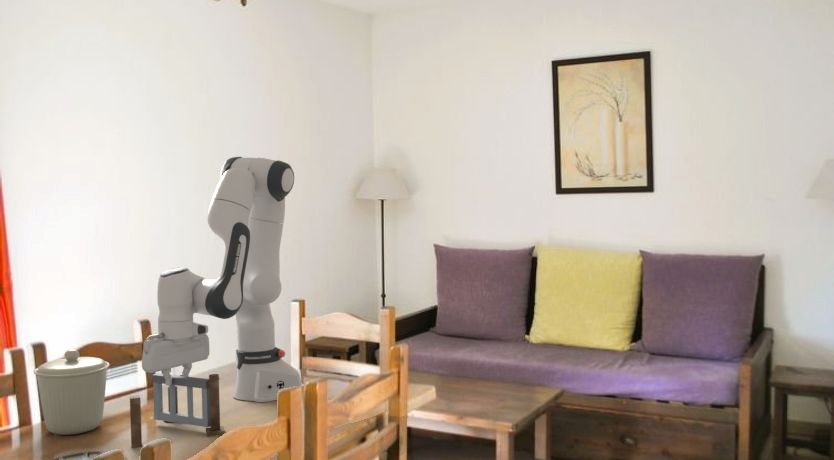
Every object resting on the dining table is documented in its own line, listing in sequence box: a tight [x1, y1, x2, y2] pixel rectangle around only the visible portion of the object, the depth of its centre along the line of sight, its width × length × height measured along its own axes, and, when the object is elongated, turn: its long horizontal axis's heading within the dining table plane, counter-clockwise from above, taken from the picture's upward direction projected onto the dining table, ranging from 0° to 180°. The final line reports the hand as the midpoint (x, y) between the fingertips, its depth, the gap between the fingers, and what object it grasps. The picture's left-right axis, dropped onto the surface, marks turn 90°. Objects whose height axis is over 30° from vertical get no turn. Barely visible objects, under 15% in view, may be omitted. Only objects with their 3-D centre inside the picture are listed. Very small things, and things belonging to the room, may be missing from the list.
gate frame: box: [129, 373, 226, 448], centre depth 197 cm, size 22×6×15 cm, turn 110°
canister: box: [33, 348, 111, 436], centre depth 206 cm, size 18×18×21 cm
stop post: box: [163, 385, 179, 423], centre depth 214 cm, size 5×5×9 cm
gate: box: [151, 372, 210, 428], centre depth 206 cm, size 18×2×12 cm, turn 64°
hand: (177, 382), depth 207 cm, fingers open, 3 cm apart
